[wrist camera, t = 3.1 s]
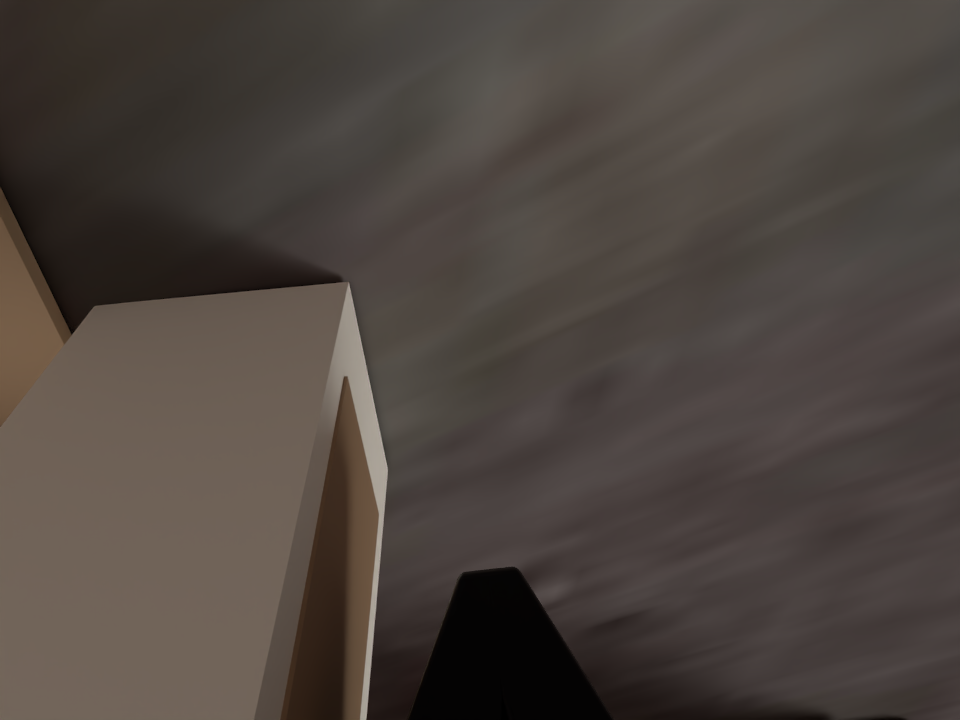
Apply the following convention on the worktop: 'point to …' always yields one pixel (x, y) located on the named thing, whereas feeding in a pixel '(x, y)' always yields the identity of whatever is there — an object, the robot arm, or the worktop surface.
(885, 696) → the worktop surface
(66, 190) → the worktop surface
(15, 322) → the cork trivet
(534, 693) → the robot arm
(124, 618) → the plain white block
